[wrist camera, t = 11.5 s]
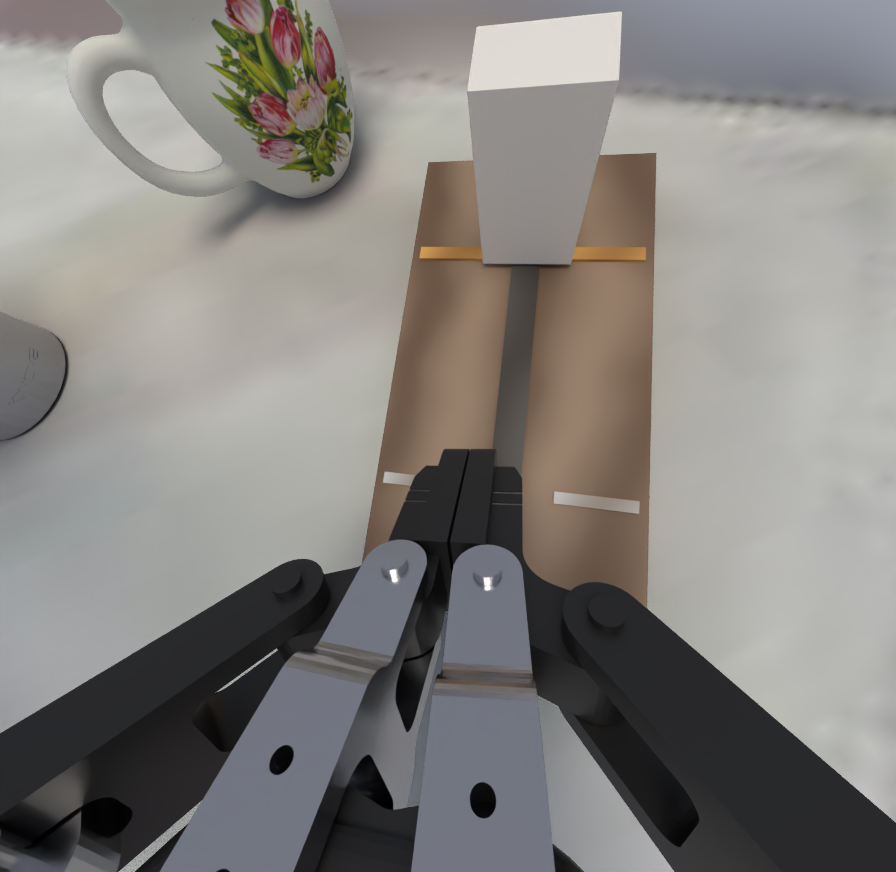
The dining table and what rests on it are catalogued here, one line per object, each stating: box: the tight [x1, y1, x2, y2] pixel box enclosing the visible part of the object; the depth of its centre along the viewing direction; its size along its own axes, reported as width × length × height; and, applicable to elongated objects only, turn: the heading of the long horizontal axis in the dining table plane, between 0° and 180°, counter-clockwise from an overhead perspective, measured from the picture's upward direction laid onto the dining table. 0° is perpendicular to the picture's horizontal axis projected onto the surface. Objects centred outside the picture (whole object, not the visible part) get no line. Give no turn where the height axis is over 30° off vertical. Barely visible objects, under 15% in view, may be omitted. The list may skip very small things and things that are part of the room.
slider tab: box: [467, 12, 622, 264], centre depth 17 cm, size 5×3×9 cm, turn 83°
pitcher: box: [66, 0, 355, 198], centre depth 22 cm, size 11×18×14 cm, turn 132°
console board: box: [362, 153, 656, 608], centre depth 20 cm, size 14×26×4 cm, turn 173°
